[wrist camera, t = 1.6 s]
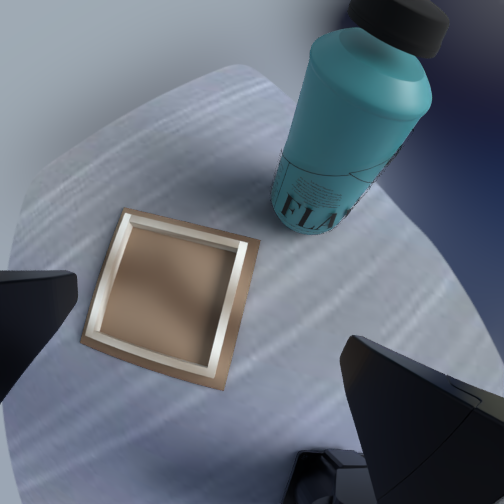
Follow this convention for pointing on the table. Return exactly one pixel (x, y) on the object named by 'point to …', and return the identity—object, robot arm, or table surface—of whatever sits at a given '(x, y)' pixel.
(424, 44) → the beverage bottle
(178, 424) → the table surface
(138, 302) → the tray
